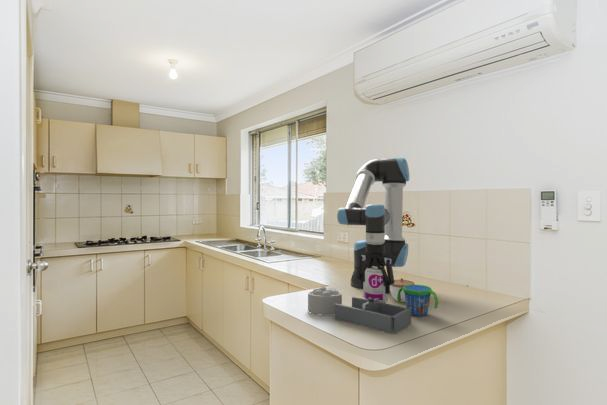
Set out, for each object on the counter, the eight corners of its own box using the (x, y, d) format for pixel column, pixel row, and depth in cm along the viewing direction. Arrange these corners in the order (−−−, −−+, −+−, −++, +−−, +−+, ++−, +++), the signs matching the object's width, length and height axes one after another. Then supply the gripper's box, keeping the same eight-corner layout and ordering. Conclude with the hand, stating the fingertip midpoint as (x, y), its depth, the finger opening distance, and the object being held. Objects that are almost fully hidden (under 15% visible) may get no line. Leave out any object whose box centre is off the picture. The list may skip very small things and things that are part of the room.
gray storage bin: (334, 318, 137) (334, 304, 137) (353, 310, 147) (353, 296, 147) (394, 334, 121) (394, 317, 121) (410, 323, 131) (411, 308, 131)
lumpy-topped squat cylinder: (343, 313, 143) (343, 291, 143) (310, 316, 141) (310, 293, 140) (336, 306, 153) (336, 285, 153) (305, 307, 151) (305, 286, 151)
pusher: (361, 320, 131) (361, 300, 131) (375, 313, 139) (375, 294, 139) (366, 321, 130) (366, 301, 130) (380, 314, 137) (380, 295, 137)
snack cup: (392, 312, 145) (392, 286, 144) (406, 306, 152) (406, 281, 152) (429, 321, 133) (429, 293, 133) (442, 315, 141) (443, 288, 141)
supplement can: (386, 308, 144) (386, 270, 143) (364, 307, 145) (364, 269, 145) (385, 302, 151) (385, 266, 151) (365, 301, 153) (365, 265, 153)
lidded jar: (415, 297, 165) (415, 276, 165) (414, 304, 155) (414, 282, 155) (390, 295, 169) (390, 275, 168) (388, 302, 158) (388, 280, 158)
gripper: (347, 241, 151) (348, 296, 152) (395, 246, 138) (395, 306, 139) (357, 239, 157) (358, 292, 158) (403, 244, 143) (403, 301, 144)
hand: (375, 299), depth 148 cm, fingers closed on supplement can, 8 cm apart
